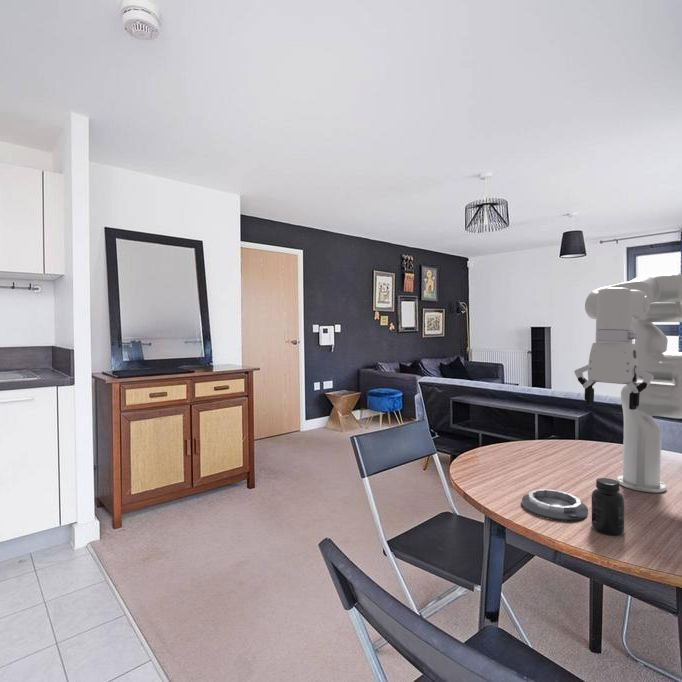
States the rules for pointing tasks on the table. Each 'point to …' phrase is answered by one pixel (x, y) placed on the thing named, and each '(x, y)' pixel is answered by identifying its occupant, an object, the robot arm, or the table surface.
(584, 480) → the table surface
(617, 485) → the supplement bottle
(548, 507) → the rosette plate
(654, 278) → the robot arm
